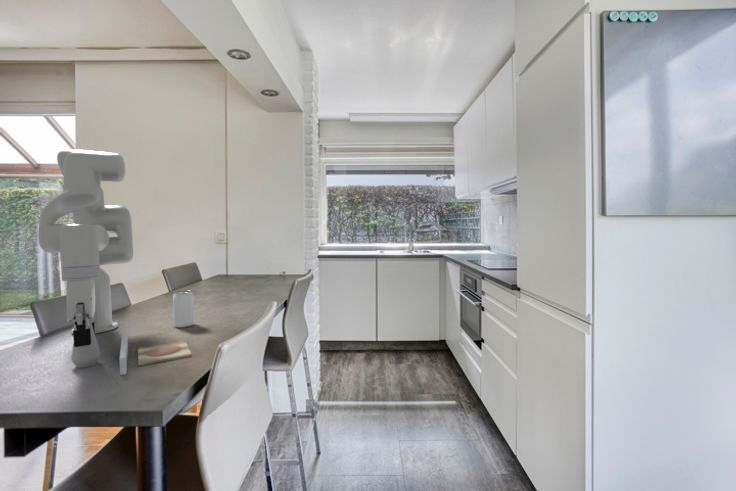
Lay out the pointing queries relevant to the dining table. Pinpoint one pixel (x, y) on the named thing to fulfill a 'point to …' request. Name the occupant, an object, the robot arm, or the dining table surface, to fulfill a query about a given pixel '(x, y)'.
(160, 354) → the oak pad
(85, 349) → the salt shaker
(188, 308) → the can
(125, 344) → the acrylic wall
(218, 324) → the dining table surface
